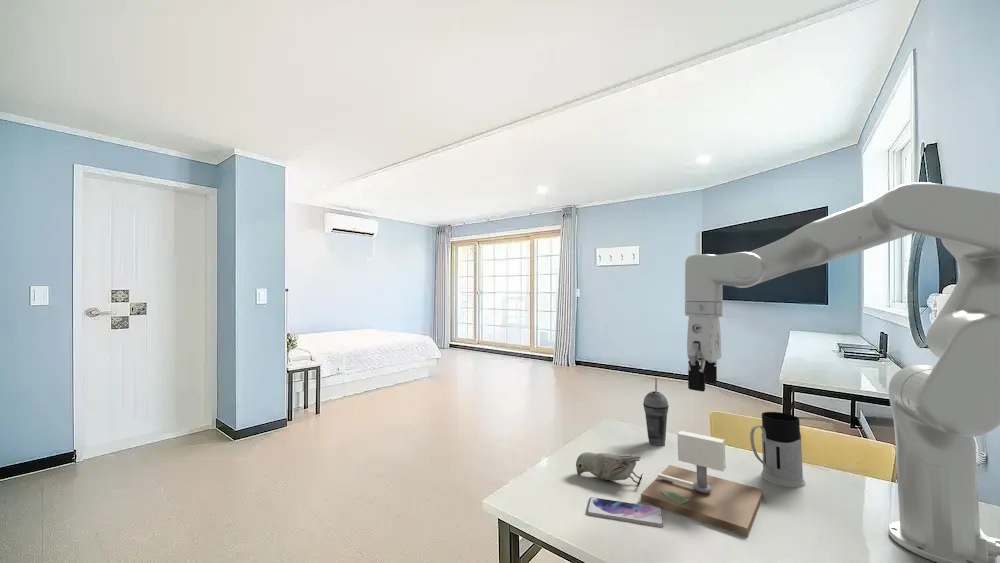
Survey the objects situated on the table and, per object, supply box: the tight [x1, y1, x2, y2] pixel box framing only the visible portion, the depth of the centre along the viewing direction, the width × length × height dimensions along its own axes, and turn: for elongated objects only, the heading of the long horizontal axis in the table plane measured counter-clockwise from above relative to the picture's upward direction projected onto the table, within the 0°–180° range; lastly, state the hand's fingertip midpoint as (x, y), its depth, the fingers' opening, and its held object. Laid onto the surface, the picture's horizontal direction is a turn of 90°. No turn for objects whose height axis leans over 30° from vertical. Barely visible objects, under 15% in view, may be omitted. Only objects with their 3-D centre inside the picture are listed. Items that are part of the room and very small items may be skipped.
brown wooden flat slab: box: [640, 464, 764, 537], centre depth 86 cm, size 20×19×2 cm
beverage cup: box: [642, 377, 670, 448], centre depth 119 cm, size 7×7×20 cm
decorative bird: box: [575, 451, 644, 488], centre depth 95 cm, size 5×16×8 cm, turn 62°
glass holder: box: [749, 411, 806, 489], centre depth 94 cm, size 9×14×15 cm, turn 109°
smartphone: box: [585, 496, 665, 528], centre depth 81 cm, size 7×1×15 cm
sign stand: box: [657, 430, 727, 493], centre depth 88 cm, size 14×4×12 cm, turn 49°
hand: (702, 386), depth 87 cm, fingers open, 9 cm apart
